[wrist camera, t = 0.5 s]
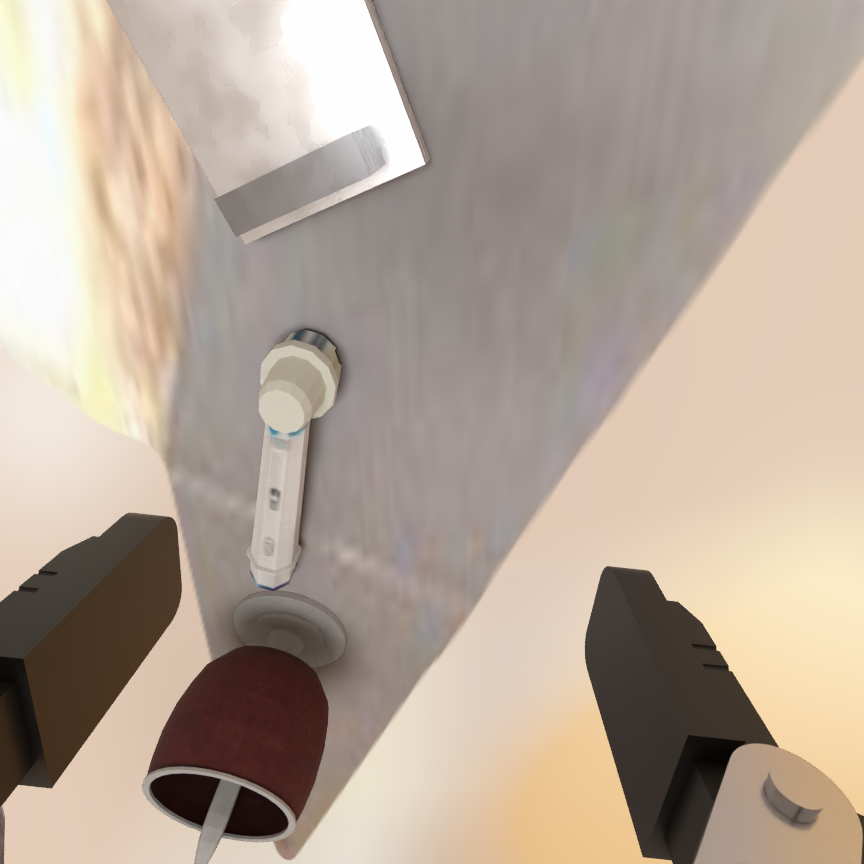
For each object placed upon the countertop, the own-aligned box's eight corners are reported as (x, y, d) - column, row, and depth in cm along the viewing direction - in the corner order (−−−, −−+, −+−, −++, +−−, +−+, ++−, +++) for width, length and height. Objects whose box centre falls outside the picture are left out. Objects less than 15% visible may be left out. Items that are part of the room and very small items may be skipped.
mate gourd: (235, 568, 54) (111, 791, 37) (368, 611, 55) (304, 846, 38) (220, 651, 62) (114, 860, 46) (335, 687, 63) (271, 904, 47)
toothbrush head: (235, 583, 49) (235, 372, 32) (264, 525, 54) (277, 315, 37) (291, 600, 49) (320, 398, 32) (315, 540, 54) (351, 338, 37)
